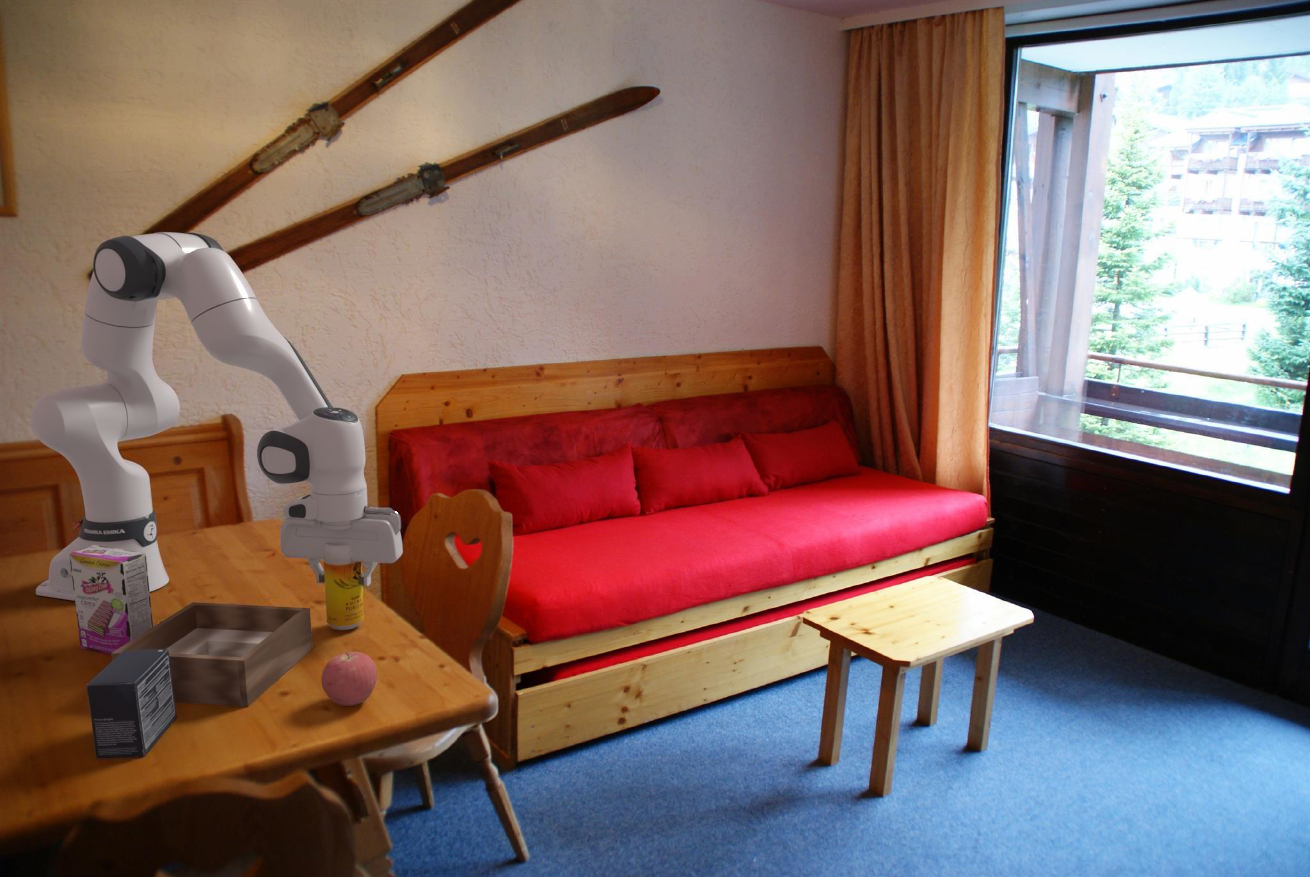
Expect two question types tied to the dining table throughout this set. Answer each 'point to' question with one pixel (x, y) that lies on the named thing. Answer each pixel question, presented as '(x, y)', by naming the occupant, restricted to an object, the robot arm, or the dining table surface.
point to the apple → (349, 678)
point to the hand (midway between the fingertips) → (343, 583)
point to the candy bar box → (110, 596)
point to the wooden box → (228, 649)
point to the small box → (131, 703)
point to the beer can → (342, 588)
